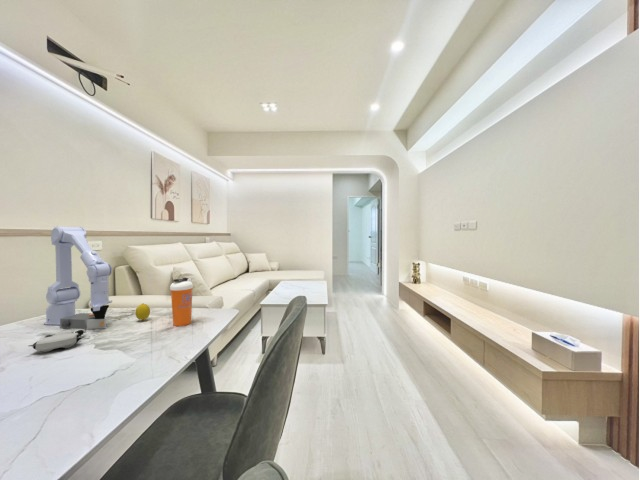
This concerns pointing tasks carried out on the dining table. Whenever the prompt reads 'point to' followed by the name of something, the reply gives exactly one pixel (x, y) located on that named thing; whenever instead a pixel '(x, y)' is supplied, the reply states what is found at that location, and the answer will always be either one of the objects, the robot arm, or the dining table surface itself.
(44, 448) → the dining table surface
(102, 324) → the door
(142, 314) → the lemon
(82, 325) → the case
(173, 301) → the shaker bottle
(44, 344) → the robot toy
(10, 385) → the dining table surface
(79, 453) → the dining table surface
